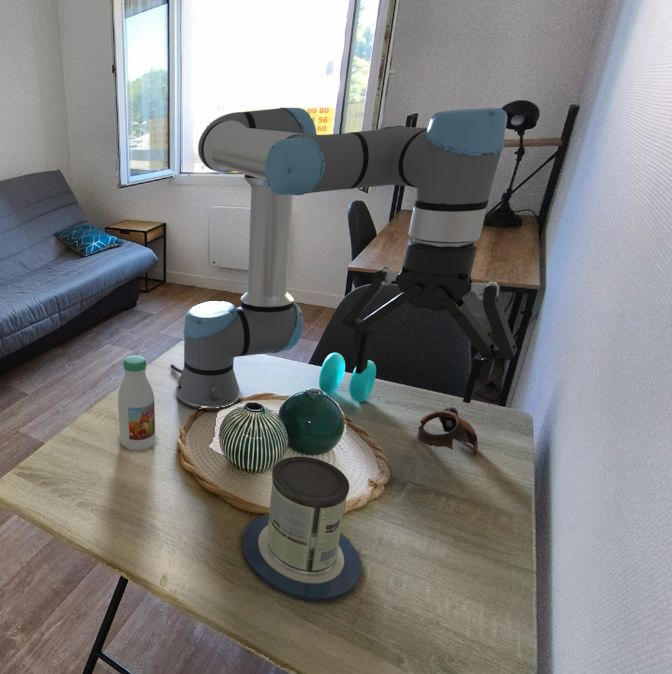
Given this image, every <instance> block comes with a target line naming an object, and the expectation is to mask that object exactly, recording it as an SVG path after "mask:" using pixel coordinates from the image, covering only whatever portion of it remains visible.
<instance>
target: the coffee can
mask: <svg viewBox="0 0 672 674" xmlns="http://www.w3.org/2000/svg"><path fill="white" fill-rule="evenodd" d="M271 479H272V480H271V490H270V503H269V513H268V514H269V524H268V535H267V541H266V542H267V548H268V551H269V553H270V554H271V556H272V557H273V558H274V559H275V560H276V561H277V562H278V563H279V564H280V565H282V566H283V567H285V568H287V569H289V570H291V571H294V572H296V573H300V574H303V575H320V574H324V573H326V572H328V571H330V570H331V569H332V568H333V567H334V566H335V564H336V561H337V552H338V546H339V540H340V534H341V533H342V527H343V521H344V516H345V510H346V503H347V497H348V496H349V492H350V481H349V479H348V477H347V476H346V475H345V474H344V473H343V471H342V470H340V469H339V468H338V467H336V466H335V465H333V464H331V463H329V462H327V461H325V460H322V459H319V458H314V457H311V456H290V457H286V458H283V459H280V460H279V461H277V462H276V464H274V465H273V467H272V471H271Z"/></svg>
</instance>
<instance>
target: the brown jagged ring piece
mask: <svg viewBox="0 0 672 674" xmlns="http://www.w3.org/2000/svg"><path fill="white" fill-rule="evenodd" d="M437 418H438V420H439V421H440V423H441V426H442V429H443V430H442V431H443V432H444V433H440V434H435V433H430V432H428V431H426V430H425V428H424V427H425V425H426V424H427V423H428V422H430V421H432V420H435V419H437ZM419 423H420V425H419V426H418V430H417V433H416V434H417V435H416V436H417V440H418V441H419V442H421V443H423V444H424V445H427V446H429V447H436V448H442V447H444V448H447V449H449V450H454V448H453V447H454V446H453V444H454V440H455V441H457V442H463V443H468V444H470V445H472V450H473V455H474V456H478V453H479V442H478V436H477V433H476V431H475V429H474V427H473V426H472V425H471V424H470V422H469V421H467V420H466V419H464V418H463V417H460V416H459V412H458V409H456V407H453V406H447V407H445V408H443V410H437V411H433V412H430V413H427V414H425V415H424V416H423V417H422V418H421V419H420V420H419Z"/></svg>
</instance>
